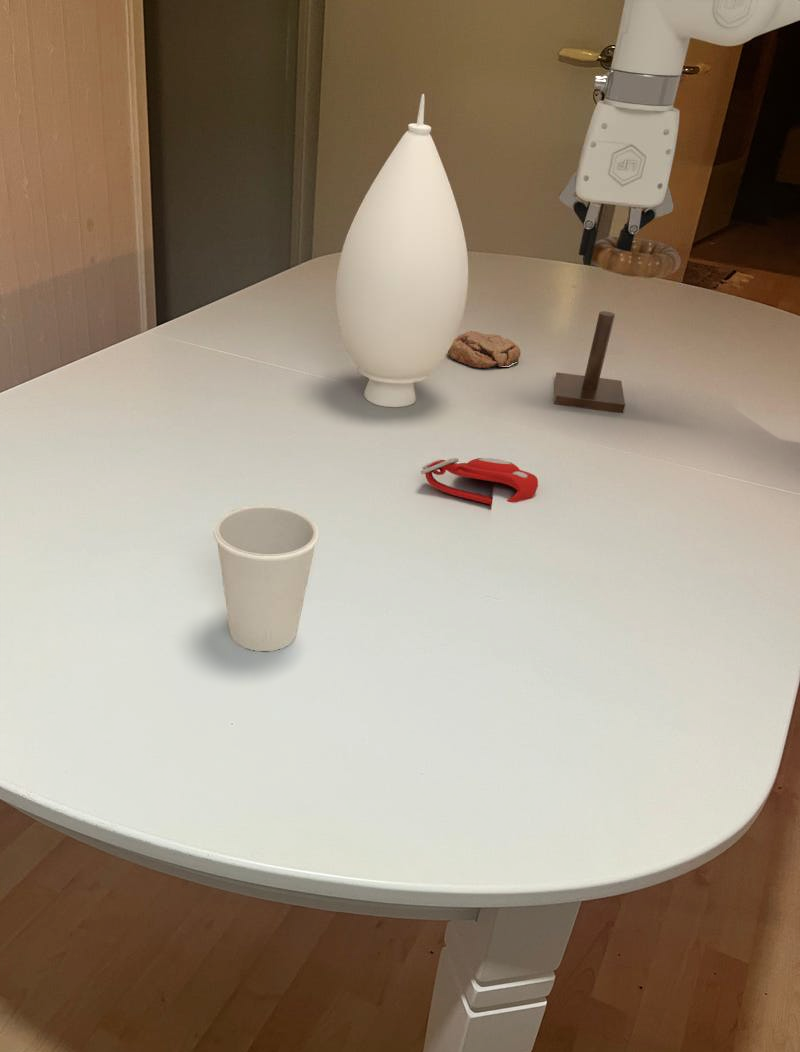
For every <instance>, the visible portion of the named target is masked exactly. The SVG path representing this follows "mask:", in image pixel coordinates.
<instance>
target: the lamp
mask: <svg viewBox="0 0 800 1052" xmlns="http://www.w3.org/2000/svg"><path fill="white" fill-rule="evenodd" d="M425 98H426V97H425V93H422V94H421V96H420V101H419V107H418V113H417V119H416V123H409V124H408V125H407V129H408V130H407V131H406V132H405V133H404V134H403V135H402V136H401V138H400V139H399V141H398V143H397V144H396V146H395V147H394V149H393V150H392V152H391V153H390V155H389V156H388V158H387V159H386V160H385V162H384V164H383V166H382V167H381V168H380V170H379V172H378V174H377V175H376V178H375V179H374V180H373V182H372V183H371V185H370V187H369V189H368V190H367V192H366V194H365V195H364V198H363V199H362V202H361V203H360V205H359V207H358V210H357V212H356V214H355V216H354V217H353V221H352V222H351V224H350V227H349V229H348V232H347V234H346V236H345V240H344V242H343V246H342V249H341V253H340V257H339V263H338V266H337V267H338V268H337V271H336V272H337V274H336V283H335V309H336V315H337V316H336V317H337V322H338V326H339V331H340V335H341V338H342V341H343V344H344V346H345V348H346V352H347V353H348V355H349V357H350V360H352V362H353V363H354V365H356V367H357V368H356V369H357V370H358V372H359V373H360V374H361V375H362V376H364V377H366V378H368V381H367V384H366V387H365V389H364V391H363V396H364V399H365V400H366V401H368V402H369V403H370V404H373V405H376V406H380V407H383V408H384V407H385V408H403V407H408V406H411V405H413V404H415V402H416V401H417V400H416V399H417V398H416V391H415V384H414V383H418V382H421V381H424V380H425V379H427V377H428V375H429V373H432V372H433V371H434V370H435V369H436V368H437V367H438V366H439V365H440V363H441V362H442V361H443V360H444V358H445V357H446V355H447V354H448V350H449V349H450V347H451V345H452V343H453V341H454V339H456V338H457V336H458V333H459V330H460V327H461V324H462V321H463V317H464V314H465V309H466V305H467V297H468V288H469V287H468V286H469V258H468V257H469V256H468V249H467V241H466V236H465V231H464V226H463V223H462V219H461V218H462V217H461V215H460V212H459V211H460V210H459V208H458V205H457V201H456V199H455V195H454V191H453V189H452V186H451V183H450V180H449V178H448V175H447V173H446V170H445V167H444V165H443V161H442V159H441V157H440V154H439V152H438V149H437V146H436V143H435V141H434V139H433V137H432V135H431V132H432V127H431V126H430V125H428V124H424V123H425V122H424V119H425Z"/></svg>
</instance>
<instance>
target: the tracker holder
mask: <svg viewBox="0 0 800 1052" xmlns="http://www.w3.org/2000/svg"><path fill="white" fill-rule="evenodd" d="M458 462H459V458H458V457H454V458H449V459H447V460H446V459H437V460H434V461H431V462H429V463H426V464H424V465H423V466H422V467H421V470H420V474H421V475H425V479H426V481H427V483H428V484H429V485H431V486H432V487H433V488H435V489H437V490H439V491H441V492H444V493H446V494H449V495H452V496H454V497H459V498H463V499H467V500H471V501H475V502H479V503H484V504H488V505H493V500H494V498H493V496H489V495H485V494H482V493H477V492H473V491H470V490H469V491H468V490H464V489H460V488H457V487H456V488H455V487H452V486H449V485H447V484H445V483H442V482H440V481H438V480H437V479H436V478H435V477H434V475H436V476H443V475H444V474H446V472H448V473H450V474H453V475H455V476H460V477H464V478H469V479H474V480H475V479H476V480H481V481H488V482H494V483H500V484H503V485H508V486H509V487H512V488H513V489H515V490H516V493H515V494H514V495H513V496H511V498H508V499H507V500H506V502H508V503H517V502H521V501H526V500H531V499H533V497H534V496H535V494H536V492H537V490H538V487H539V479H538V477H537V476H536V475H535V474H533V473H531V472H528V471H525V470H522V469H520V468H519V466H517V465H516V464H515V463H512V462H509V461H507V460H503V459H499V458H492V457H490V458H489V457H487V458H482V457H479V458H474V459H471V460H469V461H468V462H460V463H458ZM433 474H434V475H433Z"/></svg>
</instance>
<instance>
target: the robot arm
mask: <svg viewBox="0 0 800 1052" xmlns="http://www.w3.org/2000/svg"><path fill="white" fill-rule="evenodd" d="M799 21H800V0H624V4H623V8H622V14H621V18H620V23H619V27H618V33H617V38H616V43H615V47H614V52H613V56H612V61H611V66H610V68H609V71H608V72H606V73H603V74H602V75H600V74H596V75H595V78H594V81H593V89H594V90H599V91H600V92H602V94H604V98H603V100H597V103H596V106H595V108H594V110H593V113H592V116H591V118H590V122H589V125H588V128H587V131H586V135H585V138H584V141H583V144H582V145H583V146H582V149H581V152H580V156H579V161H578V166H577V169H576V171H575V172H574V173H573V174H572V176H571V177H570V178H569V179H568V181H567V182H566V184H565V185H564V187H562V189H561V191H560V192H559V194H558V197H559V201H560V202H561V203H563V204H564V205H565V206H567V207H568V208H569V209H571V210H572V211H573V212H574V213H575V215H576V216H577V218H578V219H579V220H580V222H581V223H582V225H583V231H582V236H581V239H580V240H581V241H580V245H579V250H578V255H579V256H582V263H583V266H589V265H591V262H592V258H591V257H592V253H593V248H594V244H595V242H596V238H597V235H598V230H597V218H598V215H599V212H600V208H601V206H602V204H604V205H612V206H613V205H614V206H615V205H616V206H624V207H628V212H627V219H626V223H624V225H623V228H622V229H620V232H619V236H618V237H619V240H618V244H617V249H621V250H625V251H629V252H630V251H631V247H632V242H633V238H635V235H636V234H637V233H639V231H640V230H641V229H643V228H644V227H645V226H647V225H648V224H649V223H651V222H652V221H653V220H654V219H657V218H660V217H663V216H665V215H668V214H670V213H672V212H673V211H674V208H675V207H674V202H673V198H672V194H671V189H670V186H669V180H670V176H671V171H672V167H673V162H674V158H675V152H676V146H677V142H678V141H677V139H678V133H679V126H680V125H679V124H680V109H678V108H676V107H674V104H675V100H676V97H677V92H678V88H679V85H680V82H681V76H682V73H683V67H684V66H685V61H686V58H687V53H688V49H689V45H690V40H691V39H694V40H699V41H702V42H707V43H708V44H714V45H718V46H723V47H734V46H739V45H742V44H745V43H747V42H749V41H751V40H752V39H754V38H756V37H759V36H761V35H763V34H766V33H769V32H771V31H774V30H777V29H780V28H782V27H785V26H788V25H790V24H793V23H795V22H796V23H797V22H799ZM575 193H576V195H575ZM584 201H585V202H587V205H586V204H585V203H584ZM643 208H644V209H643Z"/></svg>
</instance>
